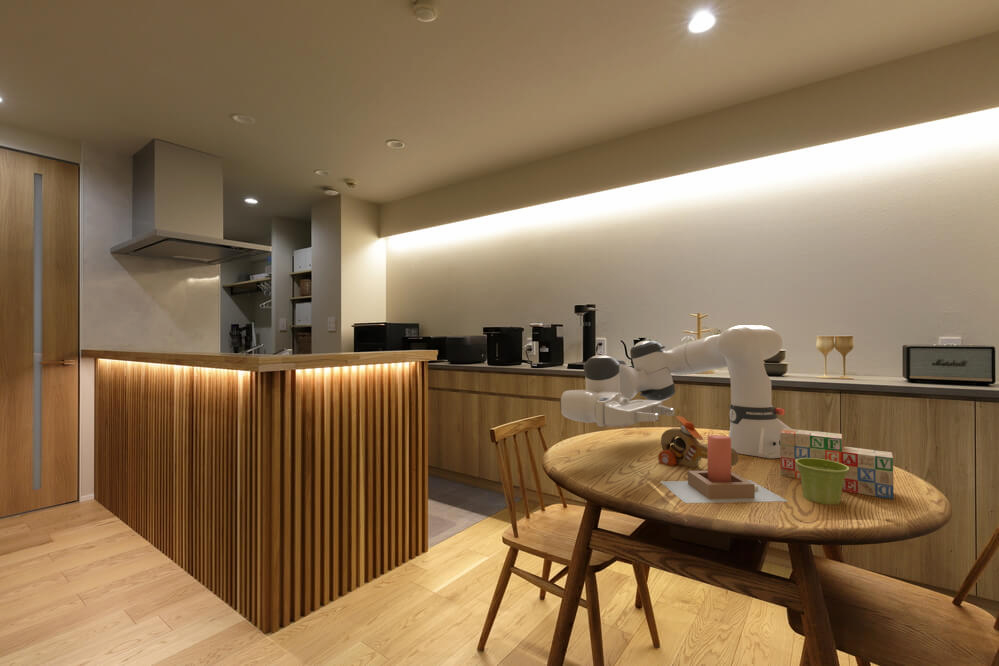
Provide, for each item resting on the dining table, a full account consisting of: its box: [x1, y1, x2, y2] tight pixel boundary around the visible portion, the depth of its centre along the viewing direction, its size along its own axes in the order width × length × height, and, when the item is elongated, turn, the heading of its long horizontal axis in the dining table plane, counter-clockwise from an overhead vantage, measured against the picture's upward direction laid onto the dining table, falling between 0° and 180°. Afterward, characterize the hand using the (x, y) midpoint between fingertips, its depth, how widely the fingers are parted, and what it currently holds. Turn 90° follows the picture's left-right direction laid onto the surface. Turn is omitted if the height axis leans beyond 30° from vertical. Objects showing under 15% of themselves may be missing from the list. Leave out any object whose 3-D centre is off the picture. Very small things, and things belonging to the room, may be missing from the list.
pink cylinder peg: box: [707, 434, 732, 483], centre depth 102 cm, size 5×5×12 cm
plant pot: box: [795, 458, 849, 505], centre depth 97 cm, size 9×9×9 cm
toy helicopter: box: [657, 415, 739, 469], centre depth 120 cm, size 8×21×14 cm, turn 36°
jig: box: [659, 470, 788, 504], centre depth 102 cm, size 22×14×4 cm, turn 92°
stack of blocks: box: [780, 428, 895, 500], centre depth 108 cm, size 21×6×12 cm, turn 50°
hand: (665, 414), depth 110 cm, fingers open, 8 cm apart
